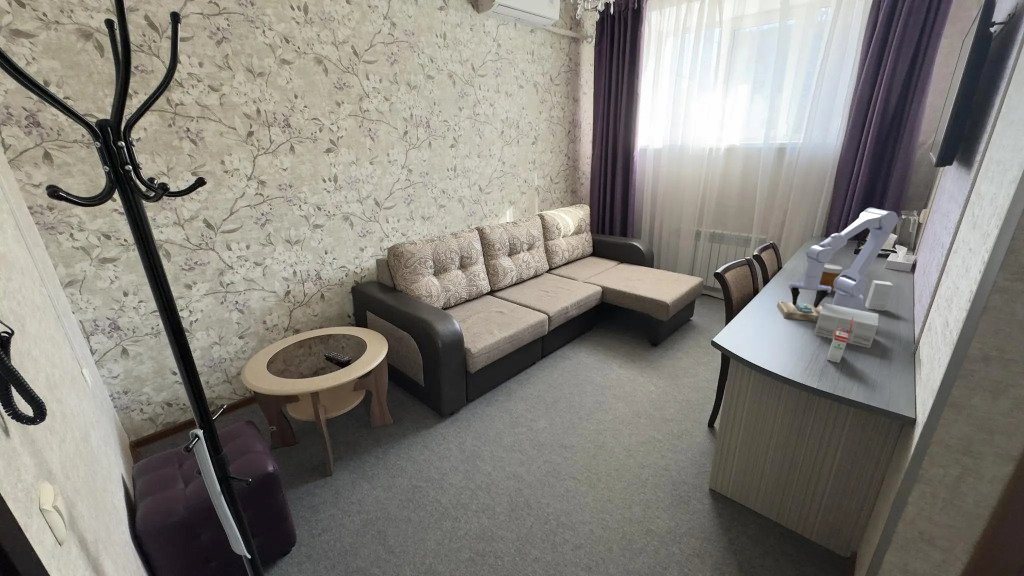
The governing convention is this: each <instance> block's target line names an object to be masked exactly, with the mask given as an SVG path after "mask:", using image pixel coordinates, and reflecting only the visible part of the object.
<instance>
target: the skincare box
mask: <svg viewBox="0 0 1024 576" xmlns="http://www.w3.org/2000/svg"><path fill="white" fill-rule="evenodd" d="M871 282H872V283H871V285H870V289H869V292H868V295H867V298H866V300H865V304H864V306H865V307H866V308H867V309H869V310H874V309H875V311H885V310H886V308H887V305H888V302H889V299H890V297H891V293H892V290H893V288H894V284H892V283H891V282H890V281H882V280H874V279H873V280H872V281H871Z"/></svg>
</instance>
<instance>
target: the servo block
mask: <svg viewBox="0 0 1024 576" xmlns="http://www.w3.org/2000/svg"><path fill="white" fill-rule="evenodd" d="M809 305H810V304H809V303H808V302H799V301H797V303H796V306H795V308H796V309H797V310H798V311H799V312H808V313H811V310H812V308H811V307H810V306H809Z"/></svg>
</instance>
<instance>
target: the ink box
mask: <svg viewBox="0 0 1024 576" xmlns="http://www.w3.org/2000/svg"><path fill="white" fill-rule="evenodd" d="M852 324H853V318H852V321H851V324H850V328H849V329H846V328H842V327H837V329H836V332H835V335H834V338H833V339H832V341H831V344H830V347H829V349H828V353H827V358H826V360H827V361H829V360H830V362H832V363H833V362H834V363H836V362H837V363H836V364H839V363H840V362H841V360H842V357H843V354H844V352H845V351H844V350H845V348H846V345H847V344H848V343H847V340H848V337H849V334H850V331H851V328H852Z"/></svg>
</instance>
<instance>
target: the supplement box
mask: <svg viewBox="0 0 1024 576" xmlns="http://www.w3.org/2000/svg"><path fill="white" fill-rule="evenodd" d="M852 318H853V324H852V328H851V331H850V334H849V337H848V340H847V343H846V344H852V345H855V346H857V347H858V346H860V347H862V348H865V349H866V348H867V349H871V347H872V344H873V341H874V339H875V338H874V337H875V335H876V332H877V329H878V326H879V313H874V312H869V311H864V310H861V311H860V310H855V309H850V308H845V307H841V306H836V305H832V304H830V303H826V302H824V303H823V305H822V309H821V312H820V314H819V318H818V321H816V325H815V328H814V332H813V335H814V334H816V336H818V335H819V337H822V336H823V338H826V337H828V338H827V339H830V338H832V339H831V340H833V338H834V335H835V332H836V329H837V327H842V328H846V329H849V328H850V324H851V321H852Z"/></svg>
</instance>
